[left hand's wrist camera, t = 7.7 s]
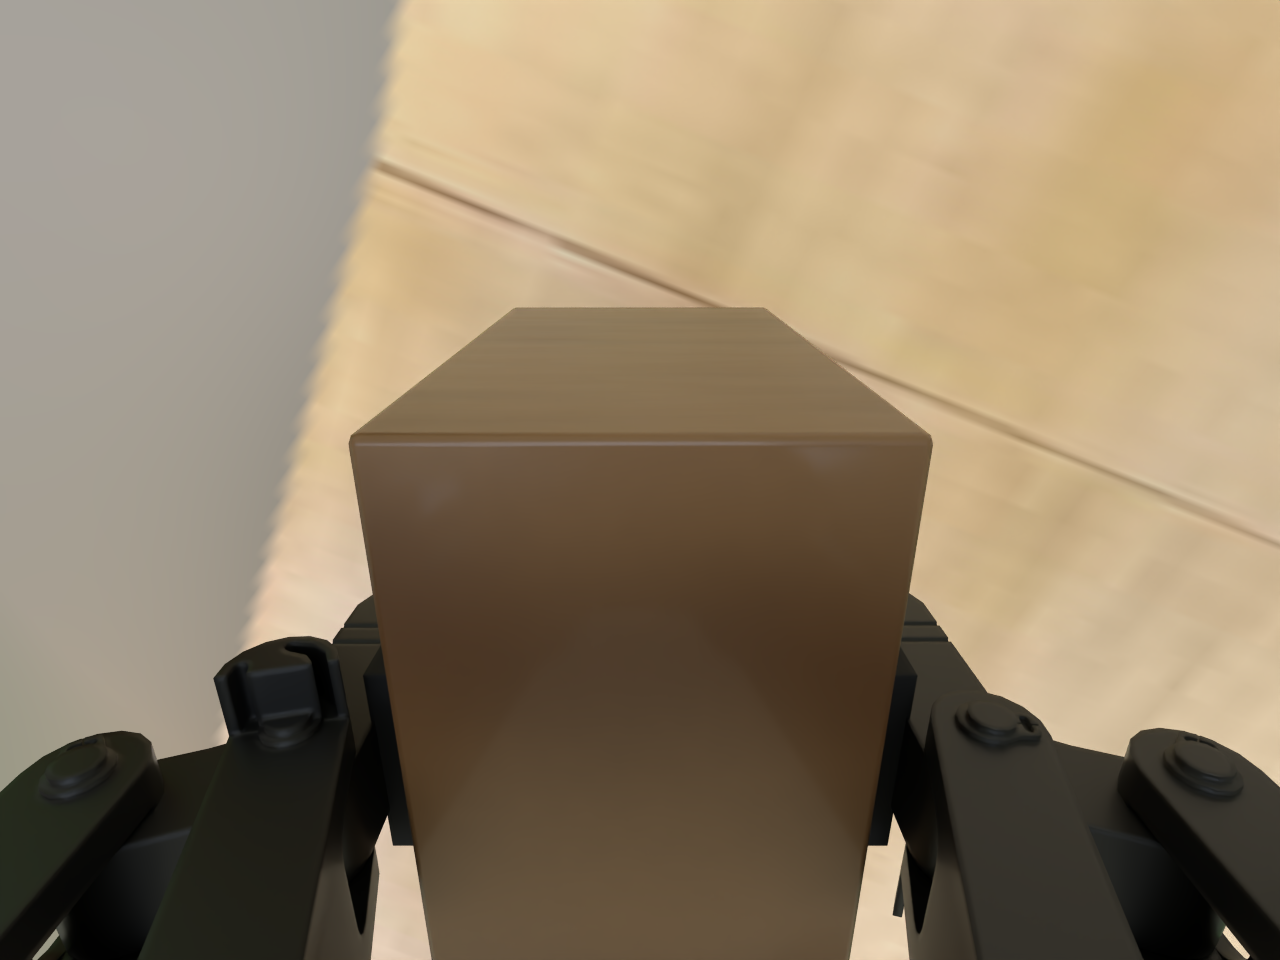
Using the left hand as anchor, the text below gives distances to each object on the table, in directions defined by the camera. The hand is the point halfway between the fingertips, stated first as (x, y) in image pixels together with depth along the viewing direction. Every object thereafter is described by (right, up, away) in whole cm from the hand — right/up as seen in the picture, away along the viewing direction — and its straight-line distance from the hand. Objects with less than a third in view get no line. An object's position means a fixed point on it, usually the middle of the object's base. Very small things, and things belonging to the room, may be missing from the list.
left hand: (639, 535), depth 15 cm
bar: (0, -25, +11) cm, 27 cm away
